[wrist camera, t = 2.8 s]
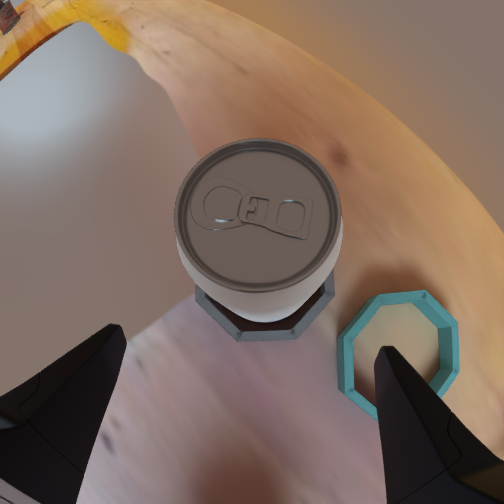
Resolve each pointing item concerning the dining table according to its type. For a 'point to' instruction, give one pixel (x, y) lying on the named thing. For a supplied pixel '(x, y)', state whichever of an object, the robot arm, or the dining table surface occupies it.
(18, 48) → the dining table surface
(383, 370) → the robot arm
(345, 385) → the socket
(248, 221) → the can
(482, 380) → the dining table surface
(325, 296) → the socket
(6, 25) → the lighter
